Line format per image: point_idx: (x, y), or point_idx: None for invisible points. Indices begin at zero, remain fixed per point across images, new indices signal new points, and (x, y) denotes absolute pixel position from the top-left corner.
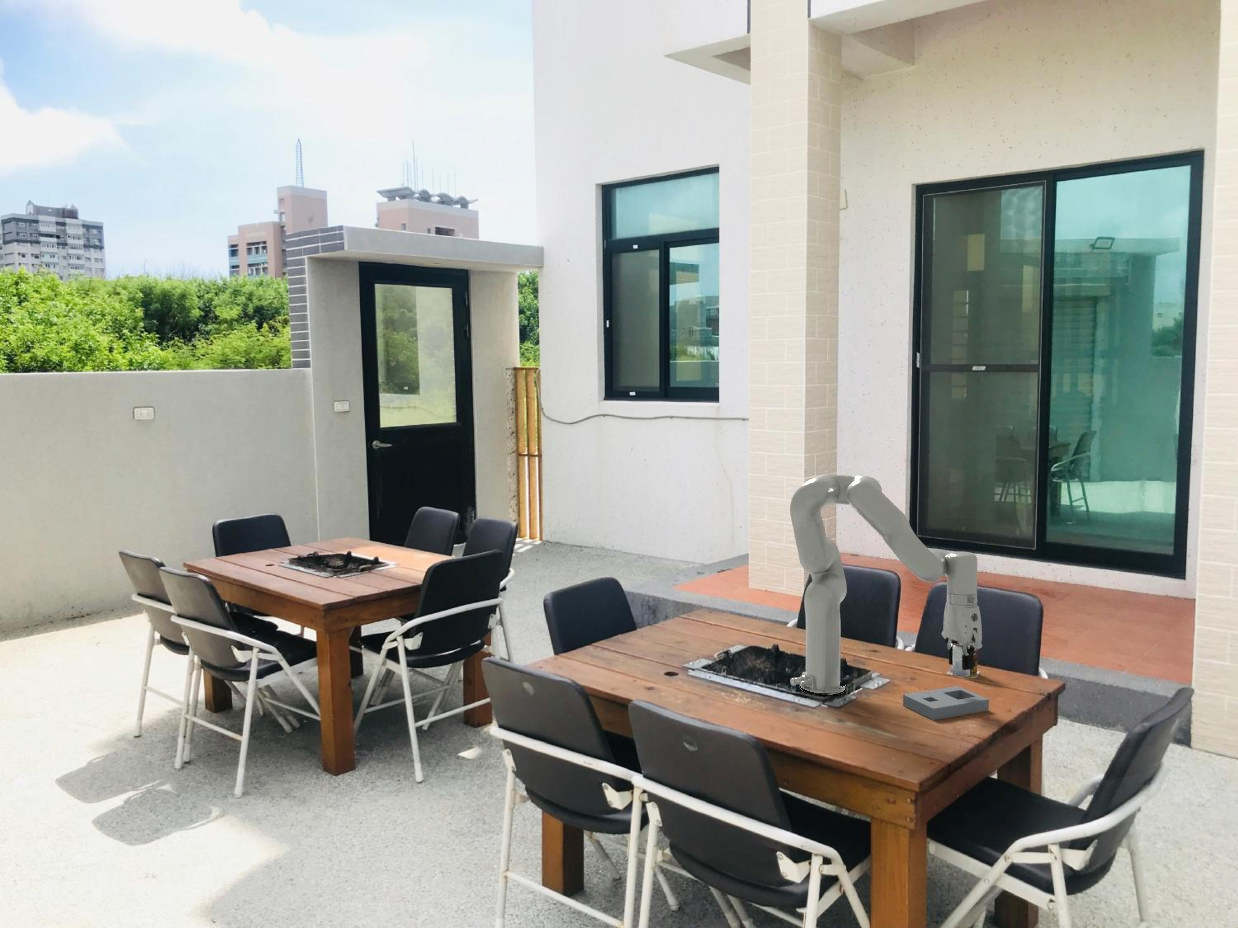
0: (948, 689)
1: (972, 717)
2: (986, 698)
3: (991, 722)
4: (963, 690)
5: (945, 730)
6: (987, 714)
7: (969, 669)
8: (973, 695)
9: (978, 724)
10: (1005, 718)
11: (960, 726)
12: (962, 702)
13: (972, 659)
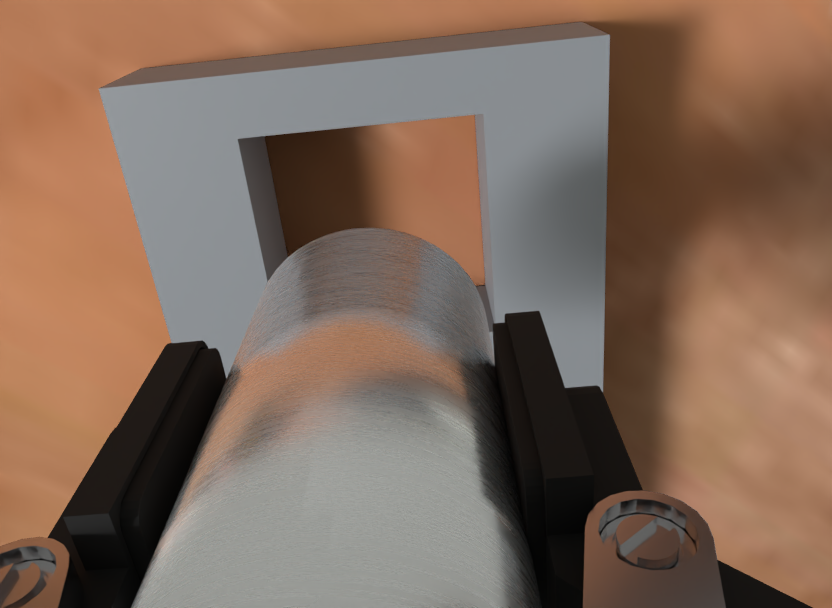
0: (200, 247)
1: (658, 267)
2: (572, 41)
3: (820, 195)
4: (260, 118)
5: (762, 551)
6: (658, 103)
7: (477, 321)
8: (438, 116)
9: (796, 314)
10: (817, 7)
11: (758, 443)
12: (574, 338)
13: (625, 463)
